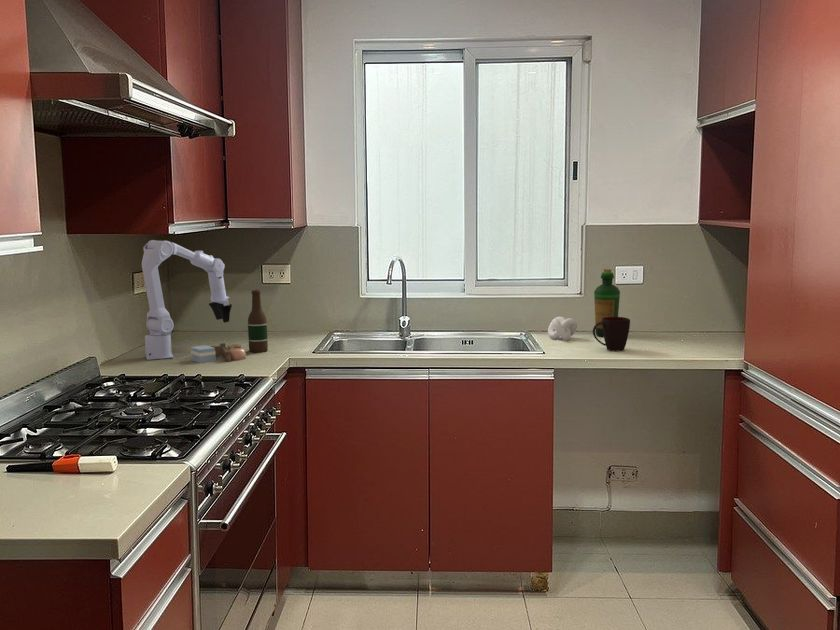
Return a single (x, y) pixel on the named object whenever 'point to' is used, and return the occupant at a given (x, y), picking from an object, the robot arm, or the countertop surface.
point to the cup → (614, 332)
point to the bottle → (606, 300)
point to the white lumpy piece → (562, 328)
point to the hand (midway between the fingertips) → (222, 320)
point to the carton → (203, 354)
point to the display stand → (222, 352)
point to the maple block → (233, 346)
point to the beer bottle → (257, 326)
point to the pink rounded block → (237, 354)
